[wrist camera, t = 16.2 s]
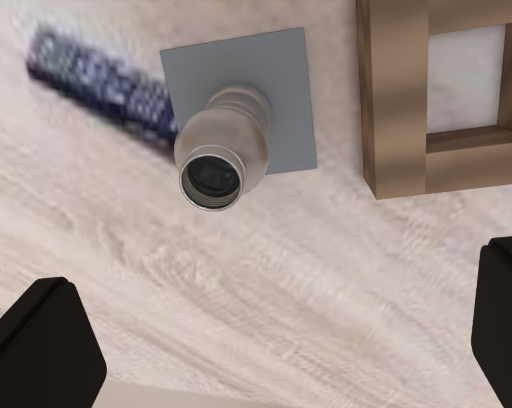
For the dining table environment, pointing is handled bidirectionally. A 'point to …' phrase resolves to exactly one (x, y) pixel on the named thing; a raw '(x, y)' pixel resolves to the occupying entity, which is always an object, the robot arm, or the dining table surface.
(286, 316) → the dining table surface
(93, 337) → the robot arm
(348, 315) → the dining table surface
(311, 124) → the pad
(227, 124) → the plastic bottle
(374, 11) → the bore block
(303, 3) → the dining table surface
